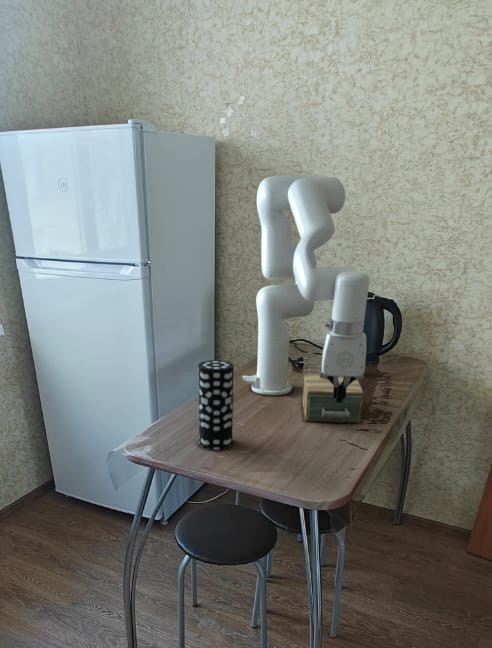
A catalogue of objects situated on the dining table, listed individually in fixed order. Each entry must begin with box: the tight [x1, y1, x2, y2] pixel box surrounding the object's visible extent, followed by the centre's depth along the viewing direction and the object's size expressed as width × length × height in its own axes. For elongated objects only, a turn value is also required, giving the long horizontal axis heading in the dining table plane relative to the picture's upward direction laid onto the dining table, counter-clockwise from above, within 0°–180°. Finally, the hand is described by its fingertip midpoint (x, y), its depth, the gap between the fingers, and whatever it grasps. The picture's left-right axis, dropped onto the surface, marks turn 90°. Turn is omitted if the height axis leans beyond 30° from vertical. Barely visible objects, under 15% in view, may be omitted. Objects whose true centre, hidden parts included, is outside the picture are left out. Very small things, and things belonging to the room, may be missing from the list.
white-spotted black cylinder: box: [197, 359, 234, 451], centre depth 140 cm, size 8×8×20 cm
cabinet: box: [302, 373, 364, 424], centre depth 162 cm, size 16×15×9 cm
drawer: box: [308, 394, 361, 421], centre depth 158 cm, size 20×13×7 cm
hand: (338, 400), depth 145 cm, fingers closed
